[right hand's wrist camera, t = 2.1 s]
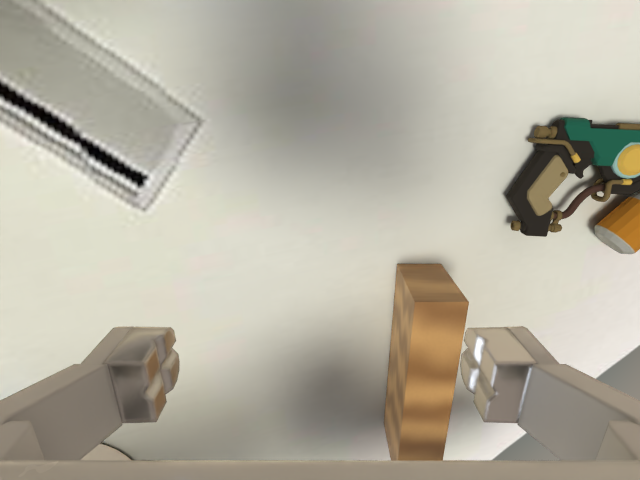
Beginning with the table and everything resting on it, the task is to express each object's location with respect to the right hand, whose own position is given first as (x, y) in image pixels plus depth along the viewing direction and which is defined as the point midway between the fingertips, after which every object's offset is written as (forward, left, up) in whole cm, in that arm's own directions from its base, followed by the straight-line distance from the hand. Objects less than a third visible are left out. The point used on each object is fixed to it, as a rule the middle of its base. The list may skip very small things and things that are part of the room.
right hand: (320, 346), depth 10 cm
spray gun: (+1, +28, -29) cm, 40 cm away
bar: (+22, +11, -29) cm, 38 cm away
